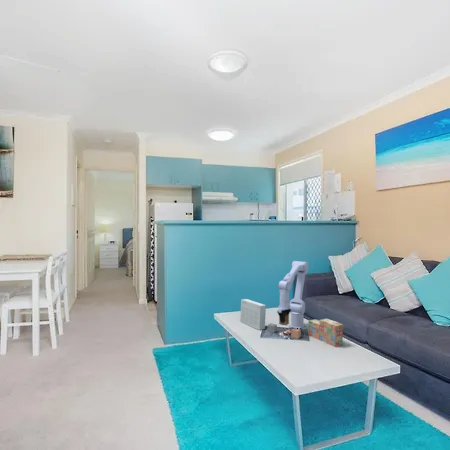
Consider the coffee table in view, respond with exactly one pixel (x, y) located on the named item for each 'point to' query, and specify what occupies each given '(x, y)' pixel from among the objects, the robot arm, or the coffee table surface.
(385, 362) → the coffee table surface
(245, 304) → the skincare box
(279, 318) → the walnut block
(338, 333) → the stack of blocks
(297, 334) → the terracotta cube
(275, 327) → the grey cube
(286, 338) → the coffee table surface
